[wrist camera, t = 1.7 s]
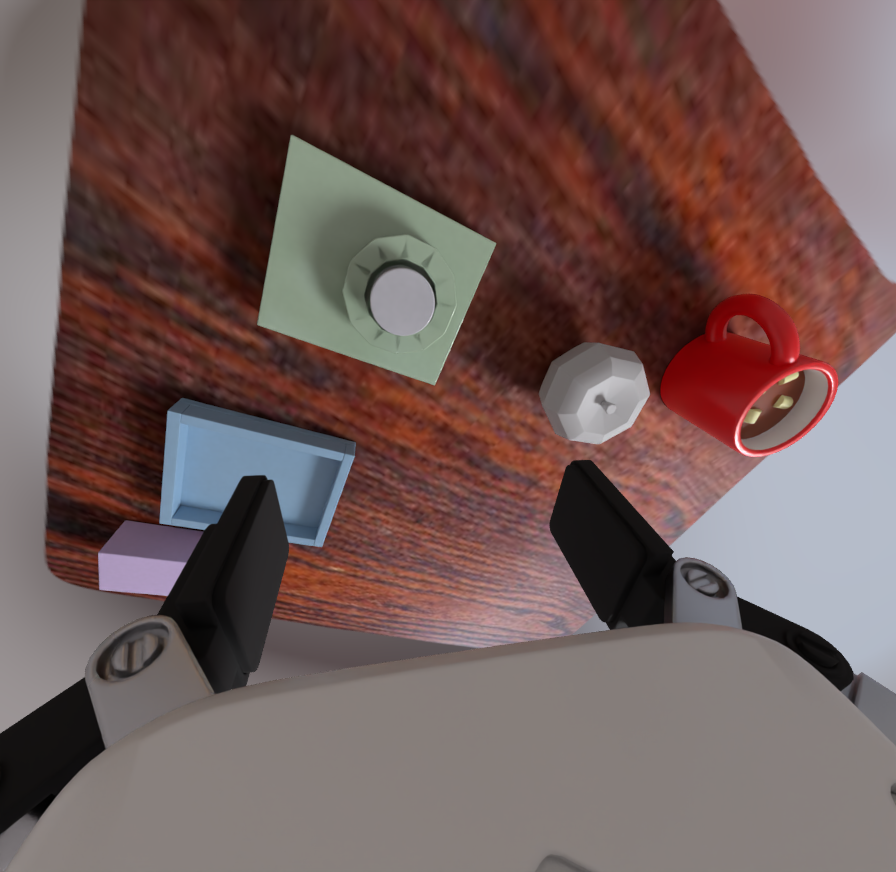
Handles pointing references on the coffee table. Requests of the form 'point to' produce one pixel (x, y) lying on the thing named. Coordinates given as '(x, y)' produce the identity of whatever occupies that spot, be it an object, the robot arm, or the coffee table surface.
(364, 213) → the green push button box
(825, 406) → the mug
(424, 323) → the grey push button
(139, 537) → the soap bar
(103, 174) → the coffee table surface
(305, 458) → the soap dish
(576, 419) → the apple
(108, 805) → the robot arm
